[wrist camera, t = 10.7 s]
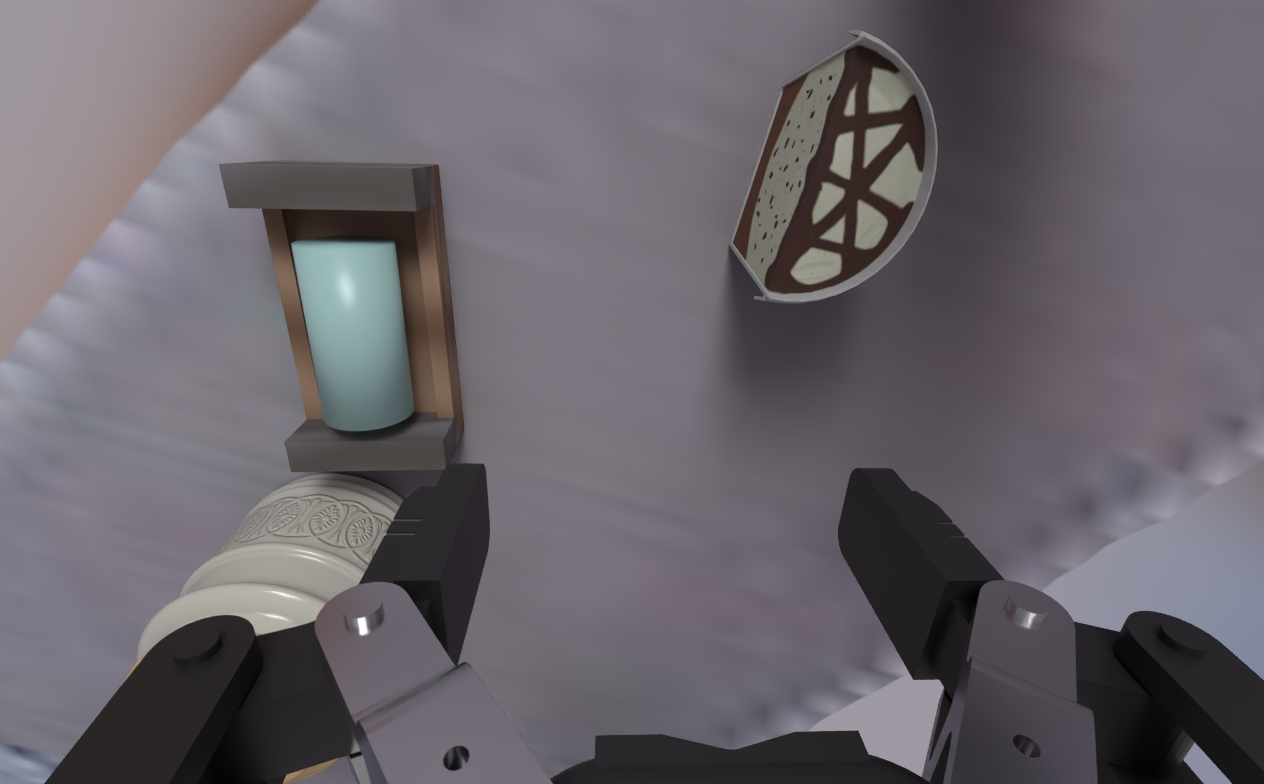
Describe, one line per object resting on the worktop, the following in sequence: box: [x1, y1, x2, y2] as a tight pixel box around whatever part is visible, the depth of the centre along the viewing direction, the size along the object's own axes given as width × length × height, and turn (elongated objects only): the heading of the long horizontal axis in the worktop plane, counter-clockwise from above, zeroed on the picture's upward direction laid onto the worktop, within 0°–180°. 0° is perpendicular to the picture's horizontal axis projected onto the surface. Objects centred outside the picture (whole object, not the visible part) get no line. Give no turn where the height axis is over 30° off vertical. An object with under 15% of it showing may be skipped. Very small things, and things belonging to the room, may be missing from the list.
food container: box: [729, 29, 938, 304], centre depth 31 cm, size 12×6×10 cm, turn 165°
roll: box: [291, 236, 414, 431], centre depth 33 cm, size 10×5×5 cm
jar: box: [125, 473, 404, 784], centre depth 35 cm, size 13×13×18 cm
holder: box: [219, 161, 464, 472], centre depth 34 cm, size 17×9×6 cm, turn 179°
